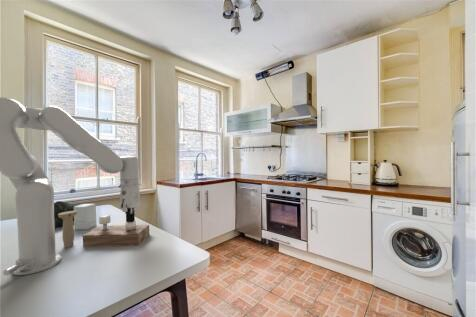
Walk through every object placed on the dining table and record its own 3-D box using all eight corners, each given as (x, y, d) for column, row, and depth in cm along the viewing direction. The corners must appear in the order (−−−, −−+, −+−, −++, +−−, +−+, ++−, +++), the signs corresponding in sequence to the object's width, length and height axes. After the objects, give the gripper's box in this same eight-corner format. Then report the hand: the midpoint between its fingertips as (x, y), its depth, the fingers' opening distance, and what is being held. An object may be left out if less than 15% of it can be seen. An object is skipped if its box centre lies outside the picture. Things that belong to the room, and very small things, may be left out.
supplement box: (97, 225, 117) (96, 203, 117) (86, 229, 110) (85, 206, 110) (85, 224, 118) (84, 203, 118) (73, 229, 111) (73, 206, 110)
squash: (79, 209, 132) (58, 195, 124) (86, 214, 122) (64, 199, 114) (58, 228, 124) (34, 214, 116) (63, 235, 115) (38, 220, 106)
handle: (57, 247, 89) (56, 213, 88) (75, 242, 94) (74, 210, 94) (61, 250, 86) (60, 215, 86) (79, 244, 91) (78, 211, 91)
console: (137, 245, 89) (137, 234, 89) (83, 246, 89) (82, 235, 89) (149, 234, 101) (149, 224, 101) (101, 235, 101) (100, 225, 101)
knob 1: (107, 233, 93) (106, 217, 93) (97, 234, 93) (96, 217, 93) (112, 230, 97) (112, 214, 97) (103, 230, 97) (103, 215, 97)
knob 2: (133, 239, 93) (133, 223, 93) (123, 239, 93) (123, 223, 93) (138, 235, 98) (137, 220, 97) (128, 235, 98) (128, 220, 97)
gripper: (129, 184, 87) (130, 227, 88) (144, 180, 102) (145, 216, 103) (111, 185, 87) (112, 227, 88) (129, 180, 102) (130, 216, 103)
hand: (130, 221), depth 95 cm, fingers closed
